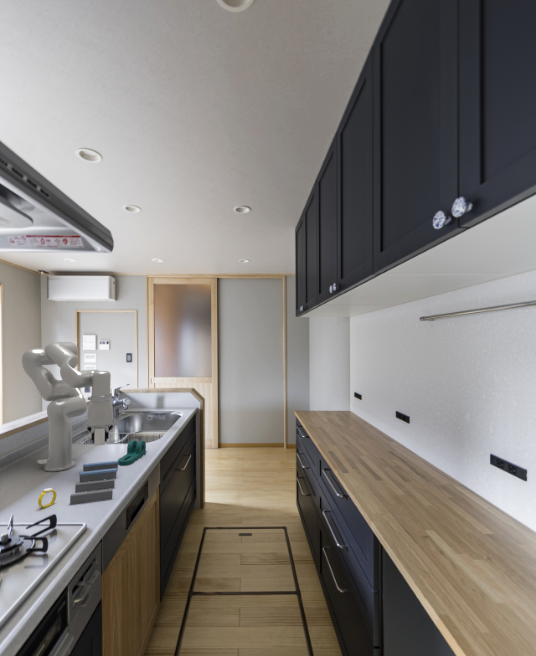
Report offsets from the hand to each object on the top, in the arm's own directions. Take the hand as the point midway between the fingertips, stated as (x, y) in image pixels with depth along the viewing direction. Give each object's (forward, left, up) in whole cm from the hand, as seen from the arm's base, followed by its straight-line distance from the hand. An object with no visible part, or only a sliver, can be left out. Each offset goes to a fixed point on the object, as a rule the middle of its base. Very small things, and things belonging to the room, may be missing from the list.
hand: (100, 440), depth 158 cm
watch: (-14, -26, -15) cm, 33 cm away
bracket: (+13, +18, -15) cm, 27 cm away
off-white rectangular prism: (0, 0, -1) cm, 1 cm away
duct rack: (0, -11, -15) cm, 18 cm away
